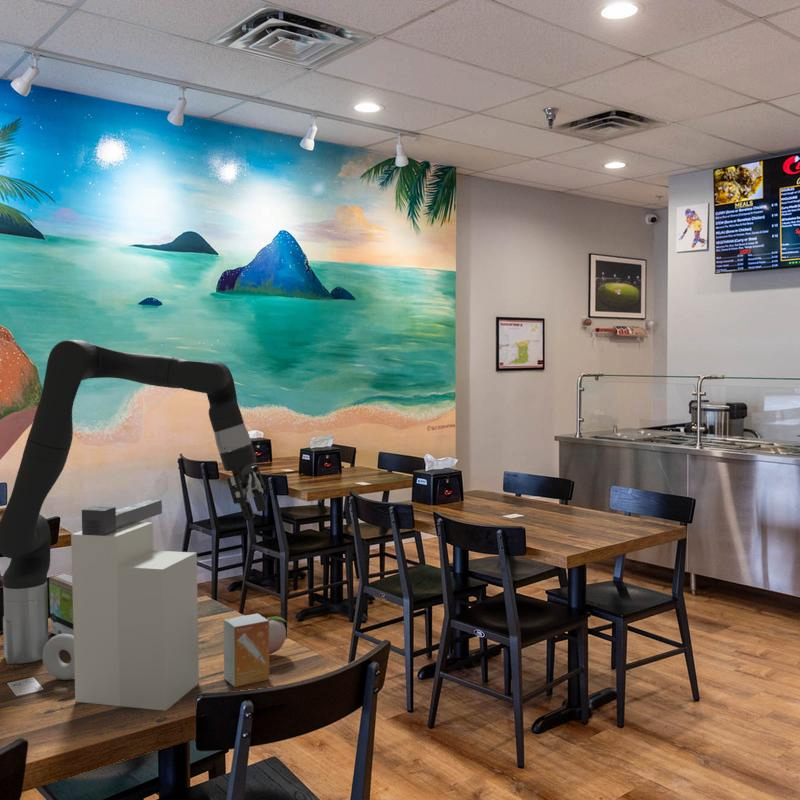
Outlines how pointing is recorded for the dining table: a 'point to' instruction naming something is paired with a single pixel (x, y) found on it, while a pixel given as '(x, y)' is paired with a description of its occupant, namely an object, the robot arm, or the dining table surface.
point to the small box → (246, 649)
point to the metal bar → (117, 517)
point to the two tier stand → (133, 620)
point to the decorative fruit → (276, 633)
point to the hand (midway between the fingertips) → (256, 514)
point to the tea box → (61, 604)
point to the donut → (52, 656)
